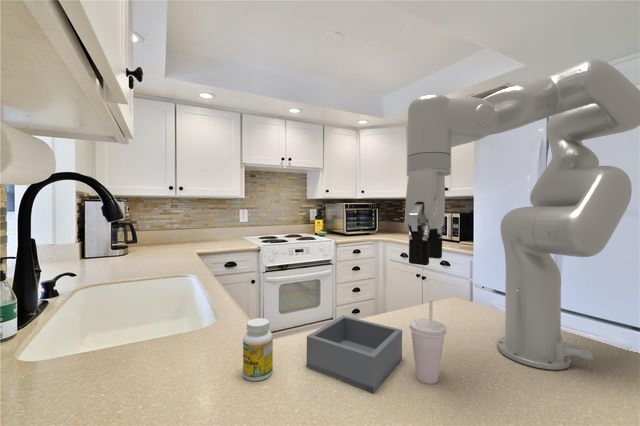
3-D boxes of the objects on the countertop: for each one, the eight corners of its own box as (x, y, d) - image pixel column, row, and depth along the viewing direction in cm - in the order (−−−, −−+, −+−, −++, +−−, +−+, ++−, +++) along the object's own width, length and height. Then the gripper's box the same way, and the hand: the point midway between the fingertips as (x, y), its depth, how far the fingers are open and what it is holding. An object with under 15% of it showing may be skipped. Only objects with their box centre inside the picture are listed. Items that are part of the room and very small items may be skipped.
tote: (401, 358, 59) (402, 329, 59) (373, 393, 48) (374, 357, 48) (342, 341, 67) (343, 315, 67) (306, 367, 55) (306, 336, 56)
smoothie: (450, 390, 49) (450, 307, 49) (410, 385, 50) (411, 305, 50) (441, 370, 55) (442, 297, 55) (407, 366, 56) (407, 295, 56)
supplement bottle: (278, 370, 54) (278, 320, 54) (259, 385, 49) (259, 329, 50) (256, 363, 57) (257, 314, 57) (236, 376, 52) (236, 323, 52)
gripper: (420, 174, 62) (418, 254, 62) (391, 160, 47) (389, 264, 47) (458, 172, 57) (457, 257, 57) (439, 156, 43) (436, 270, 43)
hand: (426, 260), depth 52 cm, fingers open, 9 cm apart
